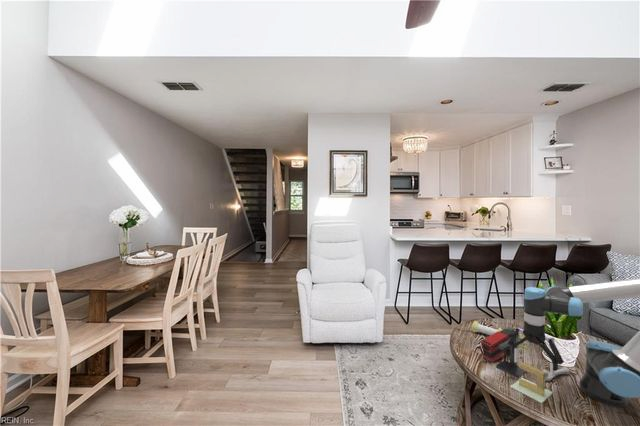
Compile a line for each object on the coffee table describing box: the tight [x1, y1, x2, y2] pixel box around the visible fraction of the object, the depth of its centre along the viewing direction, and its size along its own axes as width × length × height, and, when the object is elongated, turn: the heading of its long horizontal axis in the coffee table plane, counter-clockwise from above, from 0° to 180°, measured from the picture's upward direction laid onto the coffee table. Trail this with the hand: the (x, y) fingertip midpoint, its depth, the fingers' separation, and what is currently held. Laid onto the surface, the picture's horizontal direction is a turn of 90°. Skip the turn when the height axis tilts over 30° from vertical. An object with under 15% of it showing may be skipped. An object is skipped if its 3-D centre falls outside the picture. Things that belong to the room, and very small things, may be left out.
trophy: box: [471, 320, 530, 352], centre depth 170 cm, size 8×8×30 cm
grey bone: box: [541, 366, 571, 382], centre depth 134 cm, size 18×5×4 cm
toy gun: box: [480, 326, 519, 364], centre depth 151 cm, size 5×24×15 cm, turn 112°
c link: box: [518, 362, 546, 396], centre depth 124 cm, size 9×2×10 cm, turn 32°
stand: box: [495, 337, 528, 379], centre depth 137 cm, size 10×17×16 cm, turn 122°
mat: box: [509, 377, 554, 404], centre depth 125 cm, size 12×12×1 cm
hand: (533, 368), depth 124 cm, fingers open, 13 cm apart
